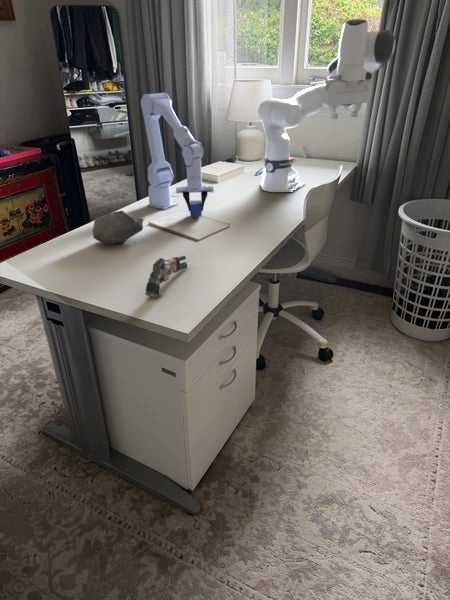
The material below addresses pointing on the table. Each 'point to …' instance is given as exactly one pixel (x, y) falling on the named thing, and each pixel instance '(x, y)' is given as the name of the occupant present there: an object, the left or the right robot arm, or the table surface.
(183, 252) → the table surface
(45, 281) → the table surface
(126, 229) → the stone
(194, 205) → the block
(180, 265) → the toy gun
